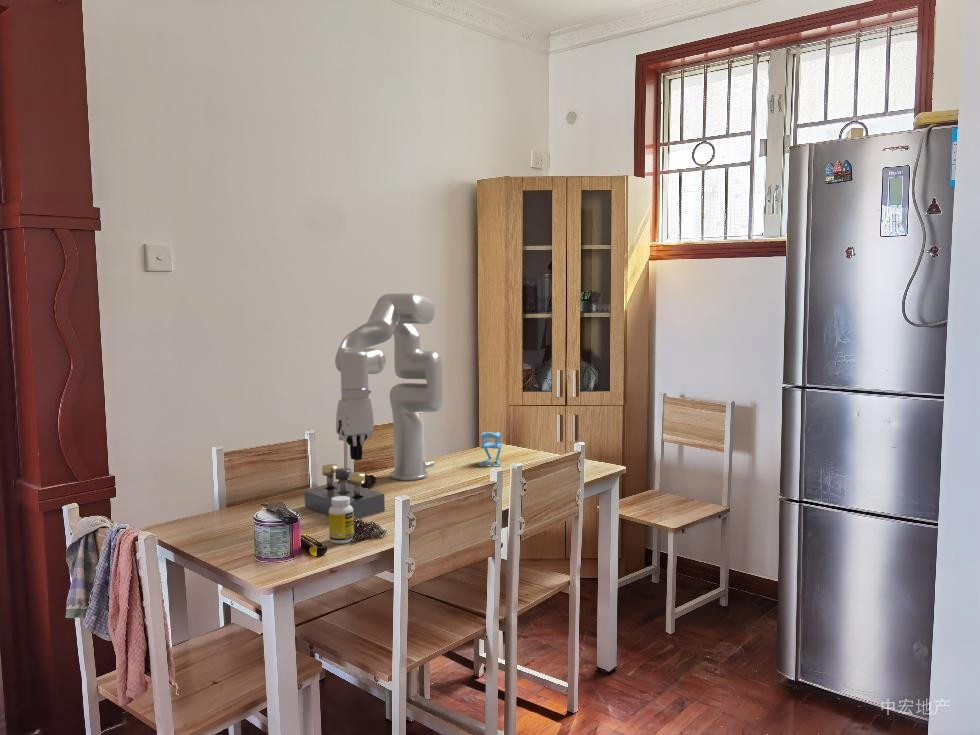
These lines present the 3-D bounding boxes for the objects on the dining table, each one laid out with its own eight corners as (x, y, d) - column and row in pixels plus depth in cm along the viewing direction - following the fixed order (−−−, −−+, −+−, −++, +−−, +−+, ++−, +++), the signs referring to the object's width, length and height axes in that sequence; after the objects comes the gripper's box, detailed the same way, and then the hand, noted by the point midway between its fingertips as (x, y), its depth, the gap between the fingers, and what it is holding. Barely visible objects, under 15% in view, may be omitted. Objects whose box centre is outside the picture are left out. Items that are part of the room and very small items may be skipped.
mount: (345, 498, 242) (344, 482, 242) (384, 511, 228) (384, 494, 228) (305, 507, 233) (304, 490, 232) (343, 521, 219) (342, 504, 218)
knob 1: (332, 488, 238) (332, 463, 237) (341, 490, 235) (340, 465, 234) (320, 490, 235) (319, 466, 234) (328, 493, 232) (327, 468, 231)
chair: (504, 461, 288) (504, 429, 287) (499, 466, 280) (499, 433, 279) (483, 461, 290) (483, 428, 289) (478, 465, 282) (477, 432, 281)
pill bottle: (349, 544, 199) (347, 501, 198) (325, 543, 200) (324, 501, 199) (357, 537, 205) (356, 495, 204) (334, 536, 207) (333, 494, 205)
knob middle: (346, 492, 233) (345, 467, 232) (354, 495, 230) (353, 469, 229) (333, 495, 230) (332, 469, 229) (341, 498, 227) (340, 472, 226)
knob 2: (359, 496, 228) (359, 471, 227) (368, 499, 225) (368, 473, 224) (346, 499, 225) (345, 473, 224) (355, 502, 222) (354, 476, 221)
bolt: (375, 490, 258) (344, 500, 245) (364, 481, 260) (333, 490, 247) (382, 476, 256) (351, 485, 243) (371, 467, 258) (340, 475, 245)
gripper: (369, 391, 231) (370, 453, 232) (324, 395, 220) (326, 461, 222) (384, 393, 225) (385, 457, 227) (339, 398, 215) (341, 465, 217)
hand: (356, 459), depth 224 cm, fingers closed
